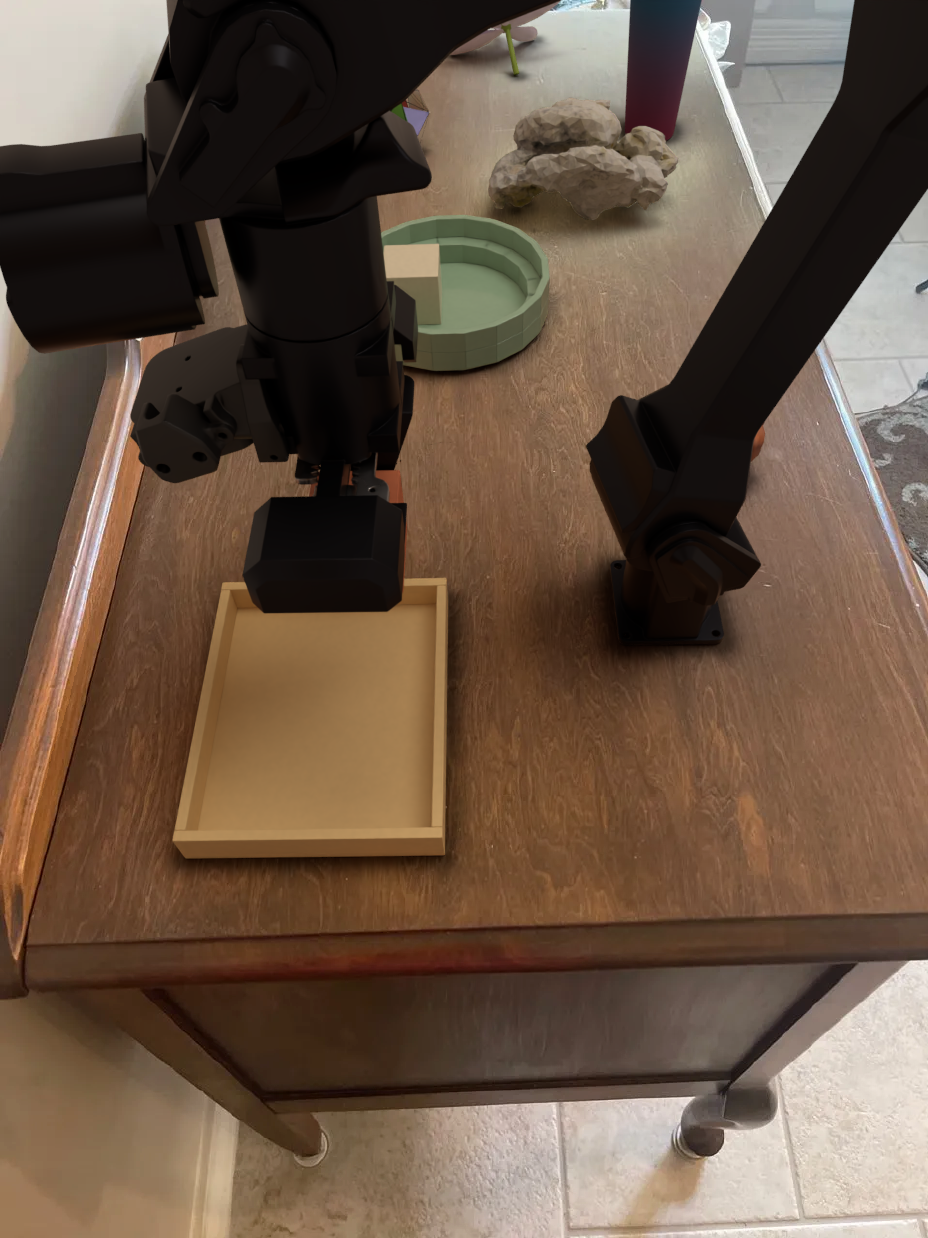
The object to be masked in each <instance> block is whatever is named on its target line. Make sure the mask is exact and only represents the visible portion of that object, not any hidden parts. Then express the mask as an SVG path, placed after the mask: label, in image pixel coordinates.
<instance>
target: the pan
mask: <svg viewBox="0 0 928 1238" xmlns="http://www.w3.org/2000/svg"><path fill="white" fill-rule="evenodd" d="M381 236H382V245H383V254H384V246H385V245H416V244H439V249H440V265H441V282H442V316H441V324H430V325H418V342H417V359H416V362H407V363H405V362H404V361H403V358H402V349H401V345H394V346H395V354H396V361H403V366H406V367H412V368H415V369H422V370H427V371H434V372H439V371H440V372H443V371H466V370H471V369H475V368H479V367H484V366H489V365H492V364H496V363H499V362H500V361H503V360H504V359H507V358H509V357H511V356H513V355H514V354H516V353H519V352H520V351H522V350H523V349H525V348H526V347H527V346H528V345H529V344H530V343H531V342H532V341H533V340H534V339H535V338H536V337H537V336H538V335H539V334H540V333H541V332H542V329H543V327H544V325H545V322H546V320H547V317H548V314H549V301H550V281H551V279H550V278H551V275H550V264H549V262H550V261H549V257H548V256H547V255H546V253H545V252H544V249H543V248H542V247H541V245H540V244H539V242H538V241H537V240H536V239H535V238H533V237H532V236H530V235H529V234H527V233H526V232H525V231H523V230H522V229H521V228H519V227H516V226H514V225H511V224H508V223H506V222H504V221H500V220H498V219H494V218H490V217H483V216H477V215H469V214H438V215H431V216H426V217H422V218H417V219H412V220H411V219H410V220H407V221H404V222H402V223H400V224H397V225H395V226H392V227H390V228H388V229H385V230H383V231H381Z"/></svg>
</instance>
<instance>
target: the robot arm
mask: <svg viewBox="0 0 928 1238" xmlns="http://www.w3.org/2000/svg"><path fill="white" fill-rule="evenodd" d="M559 1H560V2H561V1H562V0H166V1H165V2H166V16H167V17H166V18H167V30H168V34H167V36H166V38H165V40H164V43H163V46H162V49H161V51H160V54H159V57H158V59H157V62H156V65H155V67H154V70H153V72H152V75H151V78H150V79H149V82H147V83H146V84H145V93H144V96H143V114H144V115H143V117H144V118H143V119H144V124H143V125H144V134H143V133H142V132H138V133H131V134H125V135H124V134H123V135H116V136H110V137H102V138H95V139H89V140H88V139H87V140H81V141H73V142H67V143H60V144H51V145H35V144H25V143H18V144H17V143H16V144H15V143H13V144H6V145H0V271H1V274H2V277H3V281H4V284H5V286H6V291H5V301H6V305H7V307H8V310H9V312H10V314H11V316H12V318H13V320H14V323H15V324H16V326H17V327H18V329H19V331H20V333H21V334H22V336H23V338H24V339H25V340H26V341H27V343H28V344H29V345H30V347H31V348H32V349H34V350H35V351H36V352H37V353H38V354H52V353H58V352H64V351H70V350H76V349H83V348H90V347H94V346H102V345H106V344H114V343H119V342H125V341H132V340H138V339H145V338H150V337H157V336H163V335H169V334H175V333H181V332H187V331H195V330H196V328H197V326H202V325H206V318H205V312H204V309H203V304H202V301H201V297H202V298H203V299H205V300H206V299H211V298H218V297H219V295H220V294H219V291H220V290H219V282H218V275H217V269H216V264H215V260H214V254H213V250H212V246H211V241H210V237H209V233H208V228H207V225H206V221H211V220H216V219H219V220H218V221H219V224H220V227H221V231H222V235H223V238H224V242H225V246H226V249H227V253H228V257H229V260H230V265H231V269H232V272H233V276H234V279H235V283H236V287H237V291H238V294H239V299H240V302H241V306H242V309H243V314H244V317H245V322H246V324H243V325H239V326H236V327H232V326H231V327H230V326H226V327H221V328H219V329H217V330H216V329H215V330H212V331H210V332H208V333H204V334H203V335H199V336H197V337H194V338H191V339H188V340H186V341H183V342H181V343H178V344H175V345H172V346H169V347H167V348H165V349H163V350H160V351H159V352H158V353H156V354H155V355H153V356H152V358H150V360H149V361H148V362H147V364H146V365H145V368H144V371H143V373H142V376H141V379H140V382H139V386H138V389H137V392H136V394H135V395H136V396H135V398H134V401H133V404H132V408H131V411H130V416H129V417H130V421H131V422H132V423H133V425H132V429H131V431H130V435H129V436H130V438H131V439H132V440H133V441H134V443H135V444H136V445H137V447H138V450H139V452H138V455H137V457H138V458H137V459H138V461H139V462H140V463H141V464H142V465H143V466H145V467H147V468H150V469H151V471H152V472H153V473H154V474H155V475H156V476H157V477H158V478H159V479H160V480H162V481H164V482H167V483H170V484H180V483H183V482H186V481H187V482H188V481H190V480H192V479H193V480H194V479H197V478H200V477H203V476H206V475H209V474H213V473H215V472H217V471H218V469H219V465H220V462H221V458H222V457H223V456H227V455H230V454H233V453H236V452H239V451H242V450H245V449H247V448H249V447H251V446H252V445H253V446H254V449H255V453H256V456H257V460H258V462H259V463H262V464H263V463H287V462H289V458H290V455H297V458H296V464H295V470H294V479H295V482H296V484H298V485H301V486H305V485H306V486H307V485H308V486H309V485H310V486H311V484H315V483H318V485H317V486H315V489H314V494H313V495H312V496H309V495H304V496H303V495H301V496H270V498H268V499H267V500H266V501H265V502H264V503H263V504H262V505H260V507H258V508H257V509H256V510H255V511H254V512H253V517H252V522H251V526H250V533H249V538H248V542H247V548H246V554H245V557H244V565H243V570H242V573H241V574H242V578H243V582H245V584H246V587H247V589H248V592H249V595H250V597H251V600H252V603H253V604H254V605H256V606H257V607H258V608H259V609H260V610H261V611H262V612H263V613H340V612H388V611H389V610H391V609H392V608H393V607H394V606H396V605H397V604H398V603H400V602H401V601H402V591H403V575H404V558H405V534H406V522H407V514H408V503H407V502H404V503H390V502H389V500H390V492H389V486H388V484H387V483H386V482H385V481H384V480H382V479H379V478H376V471H381V470H396V466H397V463H398V460H399V457H400V454H401V451H402V449H403V448H402V447H403V445H404V443H405V440H406V437H407V433H408V430H409V428H410V425H411V421H412V419H413V416H414V401H415V400H414V399H415V386H416V385H415V380H414V378H413V377H412V376H410V375H409V374H405V371H404V365H403V361H404V362H405V363H407V362H416V359H417V342H418V322H417V311H416V300H415V299H413V298H412V297H411V296H410V295H408V294H407V293H406V292H404V291H403V290H402V289H401V288H399V287H398V286H397V285H394V281H387V279H386V271H385V262H384V254H383V245H382V236H381V233H382V229H381V220H380V219H381V218H380V211H379V202H378V197H381V196H387V195H393V194H402V193H407V192H414V191H420V190H424V189H426V188H428V187H429V186H430V185H431V183H432V179H433V174H432V171H431V168H430V165H429V163H428V160H427V158H426V155H425V152H424V150H423V147H422V144H421V143H420V142H421V141H420V138H419V135H418V136H417V134H416V131H415V129H414V127H413V125H412V124H410V123H409V122H407V121H405V120H403V119H402V118H400V117H399V116H397V115H396V114H394V113H392V112H391V111H390V110H392V109H393V108H395V107H397V106H398V105H400V104H401V103H403V102H404V101H405V100H406V101H407V100H408V97H409V96H410V95H411V94H412V93H413V92H414V91H415V90H416V89H417V90H418V88H419V87H420V86H421V85H422V84H423V83H424V82H425V81H426V80H427V79H428V78H429V77H430V76H431V75H432V74H433V73H434V72H435V71H436V69H437V68H439V67H440V65H442V63H443V62H445V60H446V59H447V58H448V57H449V56H450V55H451V53H452V52H453V51H455V50H456V49H457V48H459V47H461V46H462V45H464V44H465V43H467V42H469V41H470V40H472V39H474V38H475V37H477V36H478V35H480V34H482V33H483V32H485V31H487V30H491V29H493V27H495V26H498V25H500V24H503V23H505V22H508V21H510V20H513V19H515V18H518V17H520V16H523V15H526V14H528V13H531V12H533V11H536V10H538V9H541V8H543V7H546V6H548V5H551V4H554V3H556V2H559ZM560 2H559V3H560ZM846 45H847V46H846V51H845V52H846V53H845V59H844V65H843V71H842V78H841V84H840V86H839V90H838V91H837V94H836V97H835V98H834V101H833V103H832V105H831V106H830V108H829V110H828V112H827V113H826V115H825V117H824V119H823V121H822V122H821V123H820V126H819V127H818V129H817V130H816V132H815V134H814V136H813V137H812V139H811V141H810V143H809V145H808V146H807V147H806V149H805V151H804V153H803V155H802V157H801V158H800V160H799V161H798V164H797V165H796V167H795V168H794V171H793V172H792V173H791V175H790V177H789V179H788V181H787V183H786V184H785V186H784V187H783V189H782V191H781V193H780V194H779V196H778V197H777V199H776V202H775V203H774V204H773V207H772V208H771V210H770V211H769V214H768V215H767V217H766V219H765V221H764V222H763V224H762V225H761V227H760V229H759V231H758V232H757V234H756V236H755V238H754V240H753V241H752V242H751V244H750V246H749V248H748V249H747V250H746V253H745V254H744V256H743V258H742V260H741V261H740V263H739V265H738V267H737V268H736V270H735V272H734V274H733V276H731V279H730V280H729V283H728V284H727V285H726V288H725V289H724V290H723V292H722V294H721V296H720V298H719V300H718V302H717V303H716V305H715V306H714V308H713V310H712V311H711V313H710V315H709V317H708V318H707V320H706V322H705V324H704V325H703V327H702V329H701V330H700V332H699V333H698V335H697V337H696V339H695V341H694V343H693V344H692V346H691V348H690V349H689V351H688V353H687V354H686V356H685V358H684V360H683V361H682V363H681V365H680V366H679V368H678V370H677V372H676V373H675V375H674V377H673V378H672V380H671V381H670V382H669V383H668V384H667V385H664V386H662V387H660V388H658V389H657V390H654V391H652V392H650V393H648V394H646V395H645V396H643V397H641V398H639V399H636V398H633V397H630V396H626V395H624V394H623V395H622V394H621V395H620V394H619V395H617V396H616V397H615V398H614V399H613V400H612V401H611V403H610V406H609V410H608V413H607V414H606V415H607V416H606V418H605V421H604V423H603V425H602V426H601V428H600V430H598V432H597V434H596V435H595V436H594V437H593V438H592V439H590V441H588V443H586V444H585V448H586V451H587V453H588V455H589V458H590V461H589V473H590V476H591V479H592V482H593V485H594V487H595V490H596V491H597V494H598V497H599V499H600V501H601V504H602V506H603V508H604V511H605V513H606V515H607V518H608V521H609V523H610V525H611V527H612V530H613V532H614V535H615V538H616V539H617V542H618V545H619V547H620V549H621V551H622V554H623V556H624V558H625V559H616V560H613V561H611V563H610V566H609V574H610V583H611V592H612V600H613V609H614V618H615V627H616V635H617V640H618V642H619V644H621V645H623V646H663V645H665V646H666V645H667V646H668V645H715V644H720V643H721V642H722V641H724V636H725V631H724V626H723V622H722V621H723V620H722V616H721V612H720V611H721V610H720V607H719V602H718V601H719V598H720V597H721V596H723V595H724V593H726V592H732V591H735V590H741V589H743V588H744V587H746V586H747V584H748V583H749V582H750V580H751V579H752V578H753V577H754V575H756V573H757V572H758V571H759V569H761V566H762V563H761V560H760V558H759V556H758V554H756V551H755V550H754V547H753V546H752V544H751V542H750V540H749V538H748V537H747V535H746V532H745V531H744V529H743V526H742V525H741V523H740V521H739V518H738V516H739V513H740V511H741V509H742V507H743V505H744V503H745V501H746V499H747V493H748V485H749V479H750V472H751V465H752V462H751V458H752V451H753V443H754V439H755V437H756V435H757V433H758V431H759V429H760V428H761V426H762V425H763V424H764V425H765V423H764V422H766V421H767V419H768V418H769V416H770V415H771V413H772V412H773V411H774V410H775V408H776V407H777V405H778V404H779V402H780V401H781V399H782V398H783V397H784V395H785V394H786V393H787V392H788V390H789V388H790V387H791V385H792V384H793V382H794V381H795V379H796V378H797V376H798V375H799V374H800V372H801V371H802V369H803V368H804V367H805V366H806V363H808V361H809V360H810V358H811V357H812V356H813V354H814V352H815V351H816V349H817V348H818V347H819V345H820V344H821V342H822V341H823V340H824V338H825V337H826V335H827V334H828V332H829V331H830V330H831V328H832V327H833V325H834V324H835V323H836V321H837V320H838V318H839V316H840V315H841V314H842V312H843V311H844V309H845V308H846V307H847V305H848V304H849V302H850V301H851V299H852V298H853V297H854V295H855V294H856V292H857V291H858V290H859V288H860V287H861V285H862V284H863V283H864V281H865V279H866V278H867V277H868V275H869V274H870V272H872V270H873V268H874V267H875V265H877V262H878V261H879V259H880V258H881V256H882V255H883V254H884V253H885V251H886V250H887V248H888V247H889V246H890V244H891V242H892V241H893V240H894V238H895V237H896V235H897V234H898V232H899V231H900V230H901V229H902V227H903V225H904V224H905V222H906V221H907V220H908V218H909V217H910V215H911V214H912V213H913V211H914V210H915V208H916V207H917V205H918V204H919V203H920V201H921V200H922V198H923V197H924V196H925V194H926V193H927V191H928V0H853V6H852V13H851V20H850V27H849V32H848V39H847V44H846ZM394 345H401V349H402V358H403V361H396V354H395V346H394ZM764 425H763V426H764ZM350 471H352V476H353V477H352V478H351V481H352V484H353V485H349V478H350ZM318 476H319V478H318ZM405 559H406V558H405ZM715 635H717V636H715ZM624 636H627V637H628V638H627V637H624Z"/></svg>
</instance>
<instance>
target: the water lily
mask: <svg viewBox="0 0 928 1238" xmlns="http://www.w3.org/2000/svg"><path fill="white" fill-rule="evenodd" d="M559 3H561V1H559V2H556V3H554V4H551V5H548V6H546V7H543V8H541V9H538V10H536V11H533V12H531V13H528V14H526V15H523V16H520V17H518V18H515V19H513V20H510V21H508V22H505V23H503V24H500V25H498V26H495V27H493V28H492V29H488V30H487V31H485V32H483V33H482V34H480V35H478V36H477V37H475V38H474V39H472V40H470V41H469V42H467V43H465V44H464V45H462V46H461V47H459V48H457V49H456V50H455V51H453V52H452V53H451V54H450V55H453V56H454V55H461V54H465V53H469V52H472V51H475V50H478V49H480V48H482V47H485V46H487V45H488V44H490V43H491V42H493V41H494V40H496V39H497V38H499V37H500V36H501V35H502V34H505V38H506V44H507V48H508V55H509V58H510V63H511V68H512V73H513V76H518V75H520V69H519V65H518V61H517V57H516V53H515V52H516V51H515V48H514V47H515V46H514V41H517V42H521V43H522V42H525V43H527V42H531V41H533V40H534V41H535V40H536V39H537V37H538V34H539V33H538V29H537V28H536V27H535V26H529V25H528V26H523V25H527V24H528V23H531V22H532V21H535V20H536V19H538V18H540V17H542V16H543V15H545V14H547V13H548V12H549V11H551V10H552V9H553V8H555V7H556V6H557V5H558V4H559ZM513 40H514V41H513Z"/></svg>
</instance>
